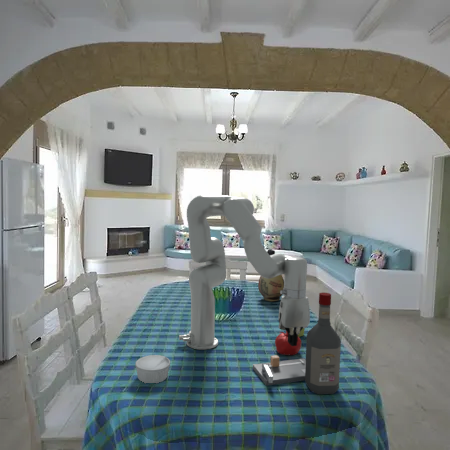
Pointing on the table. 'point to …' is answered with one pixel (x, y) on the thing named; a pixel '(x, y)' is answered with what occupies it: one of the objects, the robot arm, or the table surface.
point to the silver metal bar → (267, 372)
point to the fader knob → (275, 361)
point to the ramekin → (152, 368)
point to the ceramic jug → (271, 285)
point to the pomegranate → (286, 345)
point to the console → (283, 371)
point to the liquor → (323, 352)
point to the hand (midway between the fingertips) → (292, 344)
